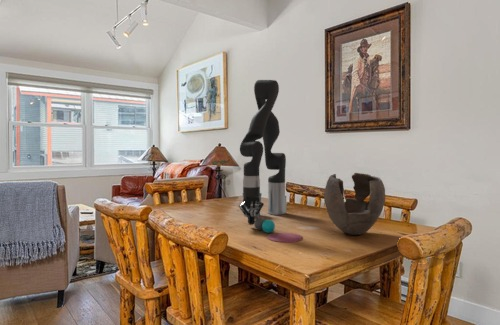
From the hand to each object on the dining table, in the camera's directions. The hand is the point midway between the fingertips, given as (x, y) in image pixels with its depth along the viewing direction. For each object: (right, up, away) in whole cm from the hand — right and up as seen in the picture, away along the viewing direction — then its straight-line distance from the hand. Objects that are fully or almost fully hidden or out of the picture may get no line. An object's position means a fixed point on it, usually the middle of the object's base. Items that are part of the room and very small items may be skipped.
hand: (251, 224), depth 151 cm
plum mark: (+13, -2, -17) cm, 21 cm away
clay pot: (+42, -2, -12) cm, 44 cm away
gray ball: (+4, +1, -4) cm, 6 cm away
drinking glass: (0, -1, +29) cm, 29 cm away
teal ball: (+7, +1, -9) cm, 11 cm away
